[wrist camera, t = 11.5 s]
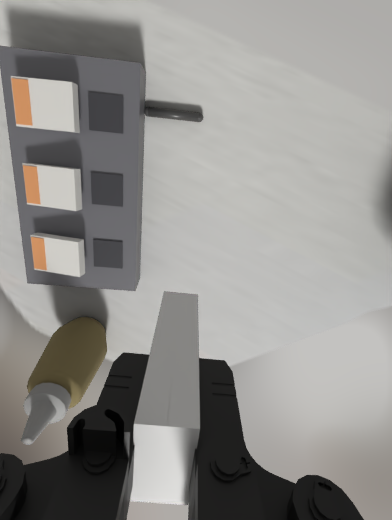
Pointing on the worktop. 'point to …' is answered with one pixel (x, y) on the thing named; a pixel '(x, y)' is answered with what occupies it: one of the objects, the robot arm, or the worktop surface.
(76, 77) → the power strip
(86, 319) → the squeeze bottle
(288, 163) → the worktop surface
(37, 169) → the middle rocker
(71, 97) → the rocker
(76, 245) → the rocker
